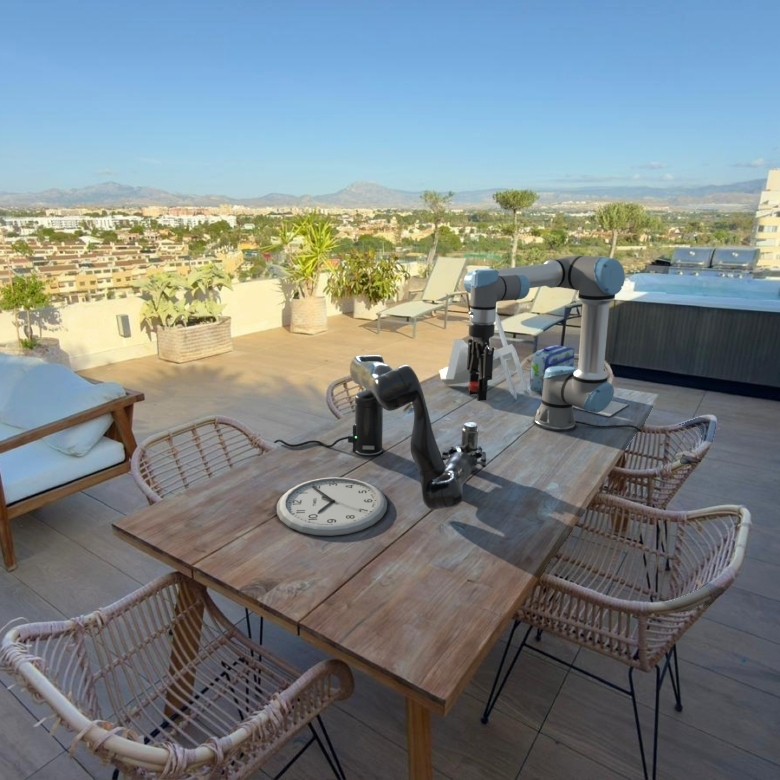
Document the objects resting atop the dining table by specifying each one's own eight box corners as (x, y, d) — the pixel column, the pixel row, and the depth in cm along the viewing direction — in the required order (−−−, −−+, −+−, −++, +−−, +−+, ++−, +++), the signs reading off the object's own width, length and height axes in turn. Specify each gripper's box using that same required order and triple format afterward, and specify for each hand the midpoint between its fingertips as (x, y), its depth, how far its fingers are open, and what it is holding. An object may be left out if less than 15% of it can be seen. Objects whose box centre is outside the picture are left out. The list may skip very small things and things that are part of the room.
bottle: (456, 468, 166) (459, 424, 162) (466, 463, 170) (469, 420, 165) (469, 473, 163) (472, 428, 158) (478, 468, 166) (482, 424, 162)
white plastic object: (461, 429, 252) (437, 405, 227) (444, 352, 274) (420, 323, 250) (535, 404, 240) (518, 377, 215) (510, 326, 262) (492, 293, 237)
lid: (465, 390, 160) (465, 384, 159) (473, 385, 164) (473, 379, 164) (482, 393, 157) (482, 387, 156) (490, 388, 161) (490, 382, 161)
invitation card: (608, 416, 214) (573, 407, 224) (608, 416, 214) (573, 408, 224) (628, 404, 229) (594, 396, 238) (628, 405, 229) (594, 397, 238)
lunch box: (546, 398, 236) (551, 353, 229) (525, 393, 243) (529, 349, 237) (573, 387, 253) (579, 344, 247) (553, 382, 260) (558, 341, 254)
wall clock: (392, 527, 129) (268, 531, 127) (391, 533, 130) (269, 537, 127) (383, 473, 158) (282, 475, 155) (383, 478, 158) (282, 480, 156)
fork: (400, 411, 216) (400, 406, 215) (412, 399, 230) (412, 395, 230) (406, 412, 215) (406, 407, 215) (418, 400, 230) (418, 396, 229)
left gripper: (483, 461, 148) (494, 439, 163) (434, 453, 153) (449, 433, 168) (481, 485, 150) (492, 461, 165) (433, 476, 155) (448, 454, 170)
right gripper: (458, 317, 162) (454, 389, 169) (483, 329, 145) (478, 408, 152) (480, 317, 164) (476, 387, 171) (508, 328, 147) (502, 405, 154)
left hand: (470, 447), depth 167 cm, fingers closed on bottle, 5 cm apart
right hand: (477, 397), depth 161 cm, fingers closed on lid, 6 cm apart
